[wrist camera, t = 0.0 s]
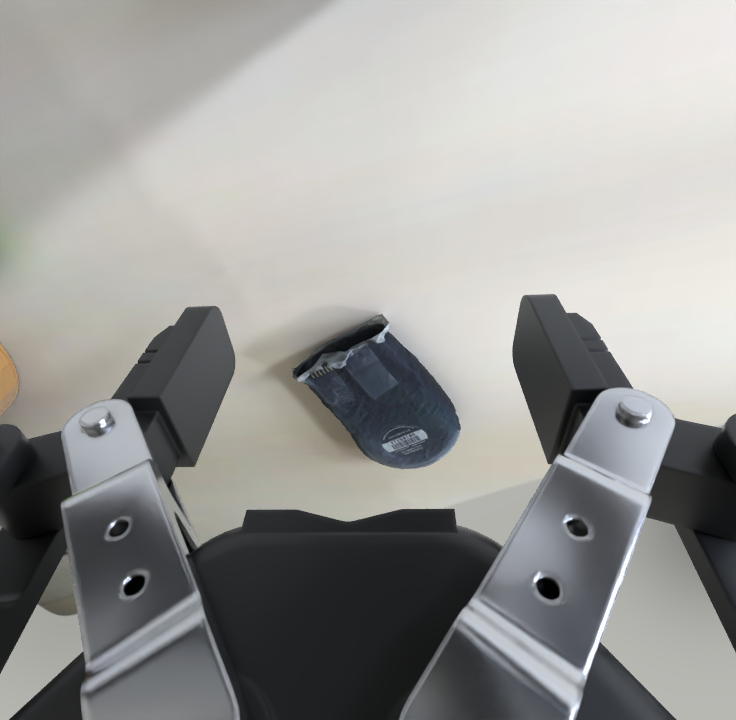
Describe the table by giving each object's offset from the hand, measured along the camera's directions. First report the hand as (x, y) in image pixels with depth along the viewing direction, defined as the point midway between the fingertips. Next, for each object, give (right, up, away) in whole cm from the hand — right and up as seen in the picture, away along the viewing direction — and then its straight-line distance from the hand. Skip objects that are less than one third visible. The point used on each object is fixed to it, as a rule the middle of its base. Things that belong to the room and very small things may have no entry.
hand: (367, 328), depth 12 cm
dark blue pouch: (+2, -4, +25) cm, 26 cm away
